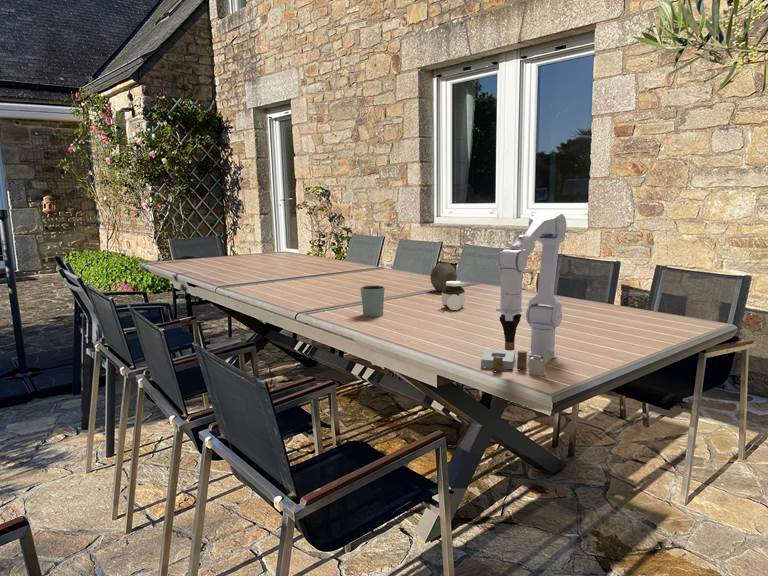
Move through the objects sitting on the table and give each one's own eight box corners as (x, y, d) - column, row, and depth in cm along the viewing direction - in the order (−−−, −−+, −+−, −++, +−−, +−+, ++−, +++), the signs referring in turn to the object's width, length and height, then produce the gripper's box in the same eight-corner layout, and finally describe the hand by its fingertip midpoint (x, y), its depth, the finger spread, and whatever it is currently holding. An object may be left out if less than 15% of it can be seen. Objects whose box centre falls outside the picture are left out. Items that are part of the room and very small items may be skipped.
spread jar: (456, 305, 262) (456, 280, 260) (472, 309, 253) (473, 283, 251) (435, 308, 256) (436, 282, 254) (452, 312, 246) (452, 285, 244)
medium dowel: (517, 367, 166) (517, 350, 165) (526, 367, 165) (527, 351, 164) (516, 369, 163) (517, 352, 163) (526, 370, 163) (526, 353, 162)
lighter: (528, 372, 161) (529, 345, 159) (532, 371, 162) (533, 344, 161) (550, 378, 155) (551, 350, 154) (554, 377, 157) (555, 349, 155)
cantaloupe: (427, 292, 296) (427, 264, 294) (433, 288, 309) (433, 261, 307) (454, 294, 292) (454, 265, 289) (459, 289, 305) (459, 262, 303)
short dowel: (493, 369, 164) (493, 356, 163) (502, 370, 163) (503, 356, 163) (492, 372, 162) (493, 358, 161) (501, 372, 161) (502, 359, 160)
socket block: (485, 356, 177) (485, 348, 177) (515, 358, 175) (515, 350, 174) (480, 367, 166) (481, 359, 165) (512, 370, 163) (512, 361, 163)
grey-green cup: (388, 313, 243) (388, 286, 242) (378, 318, 234) (378, 289, 232) (367, 311, 248) (367, 284, 246) (356, 316, 239) (356, 288, 237)
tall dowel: (505, 347, 161) (505, 323, 160) (514, 348, 160) (515, 324, 159) (504, 350, 159) (505, 325, 158) (514, 350, 158) (514, 326, 157)
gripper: (498, 288, 165) (497, 333, 167) (494, 296, 151) (493, 346, 153) (523, 289, 163) (522, 335, 165) (521, 298, 149) (519, 348, 152)
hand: (509, 340), depth 159 cm, fingers closed on tall dowel, 3 cm apart
